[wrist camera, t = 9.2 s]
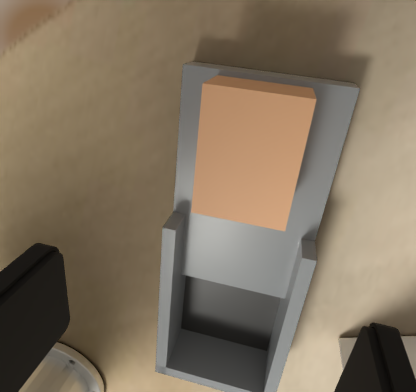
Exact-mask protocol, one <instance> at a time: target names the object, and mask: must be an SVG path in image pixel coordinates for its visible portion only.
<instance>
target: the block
mask: <svg viewBox="0 0 416 392" xmlns="http://www.w3.org/2000/svg"><path fill="white" fill-rule="evenodd" d="M316 100H317V99H316V96H315V93H314V90H313V88H309V87H301V86H294V85H286V84H279V83H272V82H264V81H257V80H250V79H242V78H235V77H228V76H220V75H217V76H215V77H213V78H211V79H209V80H208V81H206V82H204V83H203V84H202V95H201V106H200V118H199V129H198V140H197V152H196V163H195V174H194V185H193V197H192V208H191V213H196V214H201V215H206V216H211V217H216V218H221V219H226V220H231V221H236V222H241V223H246V224H250V225H255V226H260V227H265V228H270V229H275V230H280V231H285V230H286V225H287V221H288V217H289V213H290V209H291V204H292V200H293V196H294V192H295V188H296V184H297V179H298V175H299V171H300V167H301V163H302V159H303V154H304V150H305V146H306V142H307V138H308V133H309V129H310V125H311V121H312V117H313V113H314V108H315V104H316Z"/></svg>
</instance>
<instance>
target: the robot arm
mask: <svg viewBox="0 0 416 392" xmlns="http://www.w3.org/2000/svg"><path fill="white" fill-rule="evenodd" d="M69 321H70V315H69V306H68V297H67V288H66V279H65V270H64V261H63V255H62V254H61V253H59V250H58V248H57V247H53V246H49V245H45V244H41V243H36V244H34V245H33V246H31V247H30V248H29V249H28V250H27V251H25V252H24V253H23V254H22V255H20V256H19V257H18V258H17V259H16V260H14V261H13V262H12V263H11V264H9V265H8V266H7V267H6V268H4V269H3V270H2V271H1V272H0V392H104V384H103V381H102V378H101V376H100V374H99V373H98V371H97V370H96V368H95V367H94V366H93V365H92V364H91V363H90V362H89V361H88V360H87V359H86V358H85V357H84V356H83V355H81V354H80V353H78V352H77V351H75V350H74V349H72V348H70V347H68V346H66V345H64V344H61V343H58V342H57V341H58V340H59V338H60V337H61V336H62V334H63V333H64V332H65V330H66V329H67V327H68V325H69ZM335 392H416V378H415V375H414V373H413V370H412V367H411V364H410V361H409V358H408V355H407V353H406V350H405V347H404V344H403V341H402V338H401V335H400V333H399V331H398V329H397V328H394V327H390V326H386V325H382V324H377V323H371V324H370V326H369V327H365V326H363V327H362V329H361V331H360V333H359V335H358V338H357V340H356V342H355V344H354V347H353V349H352V351H351V354H350V356H349V358H348V361H347V363H346V365H345V368H344V370H343V372H342V375H341V377H340V379H339V382H338V384H337V386H336V389H335Z"/></svg>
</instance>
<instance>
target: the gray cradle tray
mask: <svg viewBox="0 0 416 392" xmlns="http://www.w3.org/2000/svg"><path fill="white" fill-rule="evenodd" d="M217 75H220V76H228V77H235V78H242V79H250V80H257V81H264V82H272V83H279V84H286V85H294V86H301V87H309V88H313V90H314V93H315V96H316V99H317V100H316V104H315V108H314V113H313V117H312V121H311V125H310V129H309V133H308V138H307V142H306V146H305V150H304V154H303V159H302V163H301V167H300V171H299V175H298V179H297V184H296V188H295V192H294V196H293V200H292V204H291V209H290V213H289V217H288V221H287V225H286V230H285V231H280V230H275V229H270V228H265V227H260V226H255V225H250V224H246V223H241V222H236V221H231V220H226V219H221V218H216V217H211V216H206V215H201V214H196V213H191V208H192V197H193V185H194V174H195V163H196V152H197V140H198V129H199V118H200V106H201V95H202V84H203V83H204V82H206V81H208V80H209V79H211V78H213V77H215V76H217ZM359 90H360V88H359V87H358V86H357V85H355V84H354V83H350V82H343V81H336V80H328V79H321V78H313V77H306V76H298V75H291V74H283V73H276V72H269V71H261V70H254V69H246V68H239V67H231V66H224V65H217V64H209V63H202V62H194V61H193V62H189V63H185V64H183V71H182V86H181V102H180V117H179V132H178V148H177V163H176V179H175V194H174V209H173V213H172V215H171V216H170V217H169V219H168V220H167V222H166V223H165V225H164V226H163V229H162V249H161V269H160V289H159V310H158V330H157V350H156V370H155V372H158V373H162V374H165V375H169V376H172V377H176V378H179V379H183V380H186V381H190V382H193V383H197V384H200V385H204V386H207V387H211V388H214V389H218V390H221V391H225V392H277V389H278V386H279V382H280V379H281V376H282V373H283V369H284V366H285V363H286V360H287V356H288V353H289V350H290V347H291V343H292V340H293V337H294V334H295V330H296V327H297V324H298V321H299V317H300V314H301V311H302V308H303V304H304V301H305V298H306V295H307V292H308V288H309V285H310V282H311V279H312V275H313V272H314V269H315V266H316V262H317V257H316V247H315V239H316V236H317V233H318V229H319V226H320V222H321V219H322V216H323V212H324V209H325V205H326V202H327V199H328V195H329V192H330V188H331V185H332V182H333V178H334V175H335V172H336V168H337V165H338V161H339V158H340V155H341V151H342V148H343V144H344V141H345V138H346V134H347V131H348V128H349V124H350V121H351V117H352V114H353V111H354V107H355V104H356V100H357V97H358V94H359Z"/></svg>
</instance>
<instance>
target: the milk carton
mask: <svg viewBox="0 0 416 392" xmlns="http://www.w3.org/2000/svg"><path fill="white" fill-rule="evenodd" d="M357 338H358V337H354V338H339V347H340V354H341V361H342V368H343V370H344V368H345V365H346V363H347V361H348V358H349V356H350V354H351V351H352V349H353V347H354V344H355V342H356V340H357ZM401 338H402V341H403V344H404V347H405V350H406V353H407V355H408V358H409V361H410V364H411V367H412V370H413V373H414V375H415V378H416V336H401Z"/></svg>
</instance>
